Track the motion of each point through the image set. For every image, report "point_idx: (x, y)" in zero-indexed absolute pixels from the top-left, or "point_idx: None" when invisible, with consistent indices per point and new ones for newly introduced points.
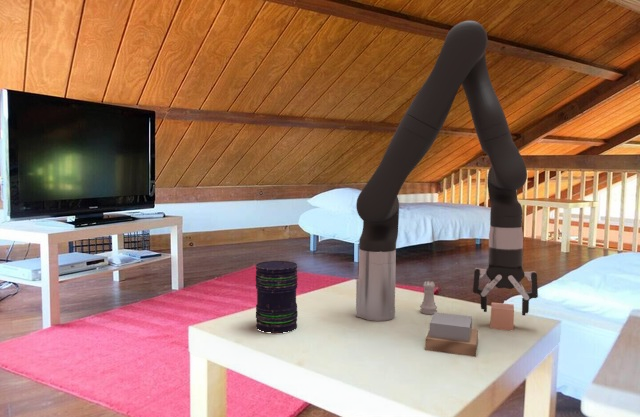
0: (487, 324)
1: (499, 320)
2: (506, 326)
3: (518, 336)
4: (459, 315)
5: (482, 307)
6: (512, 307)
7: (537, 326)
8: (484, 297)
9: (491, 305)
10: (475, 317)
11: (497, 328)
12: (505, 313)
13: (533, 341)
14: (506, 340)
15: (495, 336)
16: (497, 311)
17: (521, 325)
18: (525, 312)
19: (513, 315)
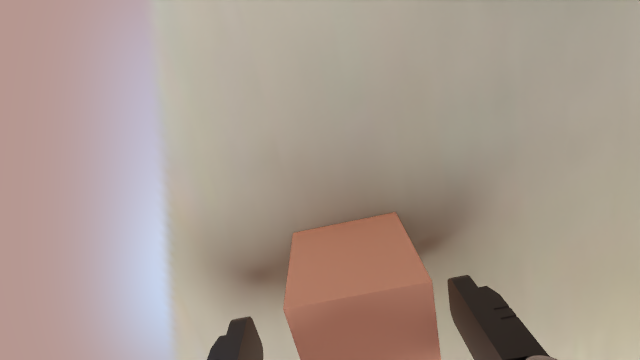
0: None
1: (361, 244)
2: (323, 236)
3: (249, 167)
4: None
5: (486, 296)
6: (307, 354)
7: (222, 335)
8: (520, 353)
9: (437, 330)
10: None
11: (363, 219)
12: (334, 279)
13: (166, 134)
14: (283, 66)
15: (349, 99)
16: (384, 275)
17: (280, 315)
18: (231, 338)
19: (288, 282)
